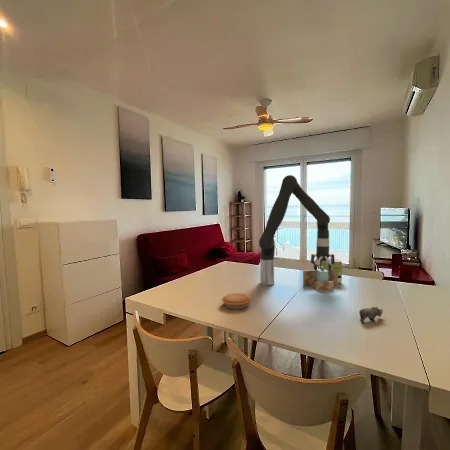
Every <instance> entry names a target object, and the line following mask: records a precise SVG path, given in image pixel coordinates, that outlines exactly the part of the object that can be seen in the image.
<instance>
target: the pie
mask: <svg viewBox="0 0 450 450" xmlns="http://www.w3.org/2000/svg"><path fill="white" fill-rule="evenodd" d="M251 300H252V299H251V297H250V296H248V295H246V294H244V293H238V292H237V293H229V294H227V295H225V296H222V298H221V301H222V303H223V304H224V306H225V307H226V308H227V309H229V310H242V309H245V308H247V306H248V305H249V303H250V302H251Z"/></svg>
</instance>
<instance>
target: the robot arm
mask: <svg viewBox="0 0 450 450" xmlns="http://www.w3.org/2000/svg"><path fill="white" fill-rule="evenodd" d="M292 195H293V196H295V198H297V200H298V201H299V202H300V204H301V205H302V206H303V207H304V209H306V211H307V212H308V213H309V214H310V215H312V216H313V218H314V219H315V220H316V227H317V228H316V229H317V232H316V244H315V245H316V253H315V254H313V253H311V255H310V263H311V264H312V265H313V270H315V271H317V269H318V268H317V267H318V263H320V261H327V262H328V270H329V271H330V270H331V264H334V259H335V254H333V253H330V231H329V224H330V221H331V219H330V216H329V215H328V213H326V211H324V210H323V209H322V207H320V206H319V204H317V202H316V201H315V200H314V199H313V197H311V196H310V195H309V194H308V193H307V192H306V191H305V190H304V189H303V188H302V187H301V186H300V184H299V182H298V180H297V178H296V177H295V176H294V175H292V174H289V175H286V176H284V177H283V179H282V182H281V185H280V189H279V192H278V195H277V197H276V200H275V201H274V202H273V206H272V208H271V210H270V213H269V216H268V219H267V220H266V221H267V222H266V225H265V228H264V229H263V233H262V234H261V236H260V238H259V241H258V245H259V247H260V249H261V252H260V256H259V257H260V261H259V262H260V264H259V265H260V267H259V268H260V269H259V282H260V285H261V286H274V285H275V249H276V248H275V243H276V242H275V239H274V238H275V235H276V232H277V231H278V229H279V227H280V226H281V224H282V222H283V220H284V218H285V216H286V213H287V209H288V206H289V201H290V198H291V196H292ZM328 258H331V262H330V260H329V259H328Z"/></svg>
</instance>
